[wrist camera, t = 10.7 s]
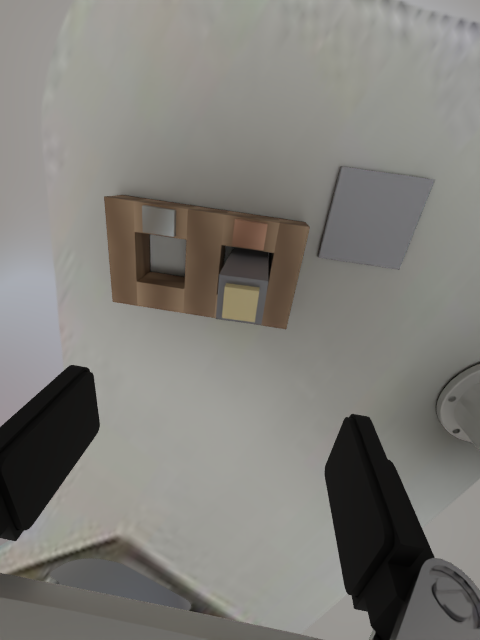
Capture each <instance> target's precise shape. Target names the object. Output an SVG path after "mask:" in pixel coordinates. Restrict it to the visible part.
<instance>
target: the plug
mask: <svg viewBox="0 0 480 640" xmlns="http://www.w3.org/2000/svg"><path fill="white" fill-rule="evenodd" d="M267 287H268V252H264V251H258V250H251V249H245V248H238V247H234V248H233V250H232V252H231V253H230V255H229V257H228V259H227V261H226V263H225V265H224V267H223V268H222V270H221V272H220V274H219V283H218V296H217V309H216V319H221V320H228V321H235V322H242V323H250V324H257V325H262V319H263V312H264V306H265V300H266V293H267Z"/></svg>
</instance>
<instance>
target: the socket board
mask: <svg viewBox="0 0 480 640" xmlns="http://www.w3.org/2000/svg"><path fill="white" fill-rule="evenodd" d="M104 201H105V213H106V225H107V237H108V250H109V262H110V274H111V286H112V299H113V302H117V303H124V304H130V305H136V306H143V307H149V308H155V309H162V310H168V311H174V312H181V313H187V314H193V315H199V316H206V317H212V318H216V309H217V296H218V283H219V274H220V272H221V270H222V268H223V267H224V258H225V248H226V246H231V247H238V248H245V249H251V250H258V251H264V252H271V253H272V256H271V261H270V267H269V272H268V287H267V293H266V300H265V306H264V312H263V319H262V325H263V326H269V327H275V328H282V329H286V327H287V323H288V319H289V314H290V310H291V306H292V302H293V297H294V293H295V289H296V285H297V280H298V276H299V272H300V267H301V263H302V259H303V255H304V250H305V246H306V242H307V237H308V233H309V229H310V227H309V226H308V225H307V224H306V223H305V222H300V221H294V220H287V219H280V218H274V217H267V216H260V215H253V214H247V213H240V212H233V211H227V210H220V209H213V208H207V207H200V206H193V205H186V204H180V203H173V202H166V201H160V200H153V199H146V198H139V197H133V196H126V195H117V196H106V197H104ZM149 234H153V235H159V236H166V237H172V238H179V239H185V240H187V241H186V264H185V277H181V276H175V275H168V274H162V273H156V272H150V241H149ZM256 325H257V324H256Z"/></svg>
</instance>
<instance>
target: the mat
mask: <svg viewBox="0 0 480 640" xmlns="http://www.w3.org/2000/svg"><path fill="white" fill-rule="evenodd" d="M434 181H435V180H434V179H427V178H420V177H413V176H406V175H399V174H392V173H385V172H378V171H371V170H364V169H358V168H351V167H344V166H341V167H340V171H339V175H338V179H337V183H336V187H335V191H334V195H333V199H332V202H331V206H330V210H329V214H328V218H327V222H326V226H325V230H324V234H323V237H322V241H321V245H320V249H319V253H318V257H319V258H326V259H333V260H339V261H346V262H352V263H359V264H366V265H372V266H379V267H385V268H392V269H398V270H399V269H400V267H401V264H402V262H403V259H404V257H405V254H406V251H407V249H408V246H409V244H410V241H411V239H412V236H413V234H414V231H415V229H416V226H417V224H418V221H419V219H420V216H421V214H422V211H423V209H424V206H425V204H426V201H427V199H428V196H429V194H430V191H431V189H432V186H433V184H434Z"/></svg>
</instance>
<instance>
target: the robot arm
mask: <svg viewBox="0 0 480 640" xmlns="http://www.w3.org/2000/svg"><path fill="white" fill-rule="evenodd" d="M436 410H437V416H438V418H439V420H440V422H441V424H442V425H443V426H444V428H445V429H446V430H447V431H448V432H449V433H450V434H451V435H453V436H455V437H456V438H458V439H461V440H464V441H467V442H473V444H474V445H475V446H476V448H477V449H478V450H479V451H480V364H478V365H475V366H473V367H471V368H469V369H467V370H465V371H464V372H462V373H460V374H459V375H458V376H456V377H455V378H454V379H452V380H451V382H450V383H449V384H448V385H447V386H446V387H445V388H444V390H443V391H442V393H441V394H440V396H439V399H438V402H437V409H436ZM99 427H100V422H99V414H98V407H97V399H96V391H95V383H94V376H93V373H91V372H90V370H89V369H88V368H87V367H81V366H75V365H70V366H69V367H67V368H66V369H65V370H64V371H63V372H62V373H61V374H60V375H58V376H57V377H56V378H55V379H54V380H53V381H52V382H51V383H50V384H49V385H47V386H46V387H45V388H44V389H43V390H41V391H40V392H39V393H38V394H37V395H36V396H35V397H34V398H32V399H31V400H30V401H29V402H28V403H27V404H26V405H25V406H23V408H21V409H20V410H19V411H18V412H17V413H16V414H14V415H13V416H12V417H11V418H10V419H9V420H8V421H7V422H5V423H4V424H3V425H2V426H1V427H0V538H3V539H8V540H13V541H16V540H17V539H18V538H19V536H20V535H21V533H22V532H23V531H24V530H27V529H29V528H30V527H31V526H32V525H33V524H34V522H35V521H36V519H37V518H38V517H39V515H40V514H41V512H42V511H43V510H44V508H45V507H46V505H47V504H48V502H49V501H50V500H51V498H52V497H53V495H54V494H55V493H56V491H57V490H58V488H59V487H60V485H61V484H62V483H63V481H64V480H65V478H66V477H67V476H68V474H69V473H70V471H71V470H72V468H73V467H74V466H75V464H76V463H77V461H78V460H79V459H80V457H81V456H82V454H83V453H84V452H85V450H86V449H87V447H88V446H89V444H90V443H91V442H92V440H93V439H94V437H95V436H96V434H97V433H98V430H99ZM325 480H326V485H327V491H328V496H329V502H330V508H331V513H332V519H333V524H334V530H335V535H336V541H337V547H338V552H339V558H340V563H341V569H342V574H343V580H344V585H345V589H346V592H347V594H349V595H352V599H353V605H354V609H358V610H362V611H367V612H368V615H369V619H370V623H371V626H372V628H373V631H372V633H371V635H370V638H369V640H480V590H479V589H478V588H477V586H476V585H475V584H474V583H473V581H472V580H471V579H470V578H469V577H468V576H467V575H466V574H465V573H464V572H463V571H462V570H460V569H459V568H457V567H456V566H454V565H453V564H452V563H450V562H447V561H445V560H443V559H437V558H434V555H433V553H432V551H431V548H430V546H429V544H428V541H427V539H426V537H425V535H424V532H423V530H422V528H421V525H420V523H419V521H418V518H417V516H416V514H415V511H414V509H413V507H412V505H411V502H410V500H409V498H408V495H407V493H406V491H405V488H404V486H403V484H402V482H401V479H400V477H399V475H398V472H397V470H396V468H395V466H394V464H393V463H392V462H391V461H390V460H388V459H387V457H386V454H385V452H384V450H383V447H382V445H381V443H380V440H379V438H378V435H377V433H376V431H375V428H374V426H373V423H372V421H371V419H370V418H369V417H367V416H361V415H356V414H351V415H350V417H346V418H345V419H344V421H343V423H342V426H341V428H340V431H339V433H338V436H337V438H336V441H335V443H334V446H333V448H332V451H331V453H330V456H329V458H328V461H327V463H326V466H325ZM0 640H321V639H318V638H313V637H309V636H304V635H301V634H296V633H291V632H287V631H282V630H277V629H272V628H268V627H263V626H258V625H253V624H249V623H244V622H239V621H234V620H230V619H225V618H220V617H215V616H211V615H206V614H201V613H196V612H191V611H187V610H182V609H177V608H172V607H167V606H162V605H157V604H152V603H147V602H142V601H138V600H133V599H128V598H123V597H118V596H113V595H108V594H103V593H98V592H94V591H89V590H83V589H78V588H73V587H68V586H63V585H58V584H53V583H48V582H43V581H38V580H33V579H28V578H23V577H18V576H13V575H7V574H2V573H0Z"/></svg>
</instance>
